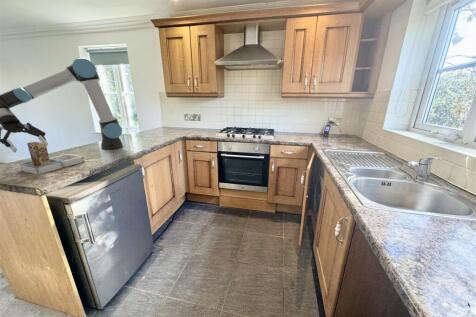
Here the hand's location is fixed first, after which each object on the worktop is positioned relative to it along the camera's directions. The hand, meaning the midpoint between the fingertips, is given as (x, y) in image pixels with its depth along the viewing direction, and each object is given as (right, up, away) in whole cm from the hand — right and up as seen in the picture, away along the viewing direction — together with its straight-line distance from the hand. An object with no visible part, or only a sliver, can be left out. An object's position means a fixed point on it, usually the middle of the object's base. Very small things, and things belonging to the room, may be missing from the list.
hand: (32, 148), depth 108 cm
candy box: (+3, -12, +3) cm, 13 cm away
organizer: (+5, -10, +9) cm, 14 cm away
